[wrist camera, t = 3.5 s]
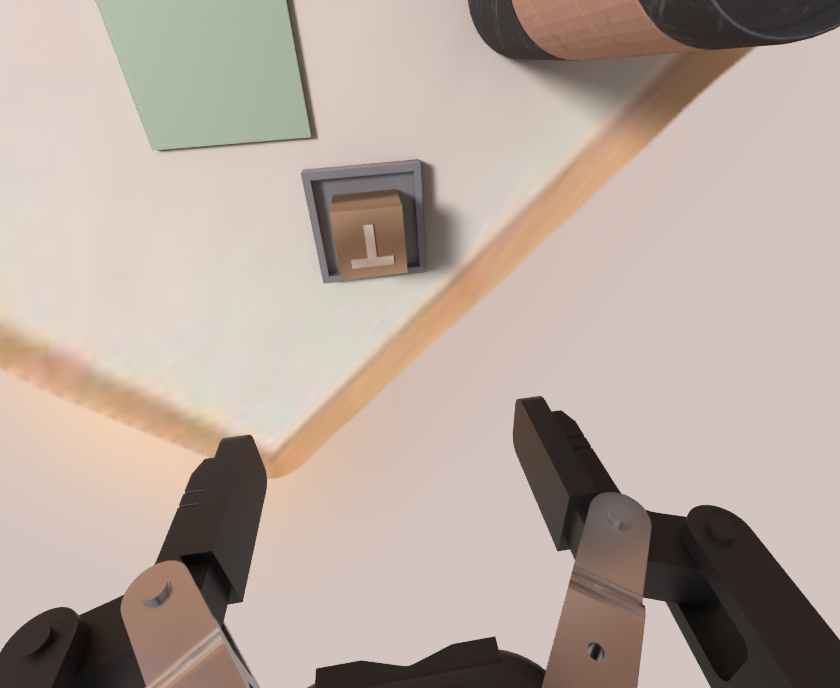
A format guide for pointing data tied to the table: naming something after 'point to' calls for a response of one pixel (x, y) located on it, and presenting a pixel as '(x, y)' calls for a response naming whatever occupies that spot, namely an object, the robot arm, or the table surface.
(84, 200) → the table surface
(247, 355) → the table surface
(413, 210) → the tray
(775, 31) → the travel mug
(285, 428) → the table surface
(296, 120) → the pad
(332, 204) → the letter cube
